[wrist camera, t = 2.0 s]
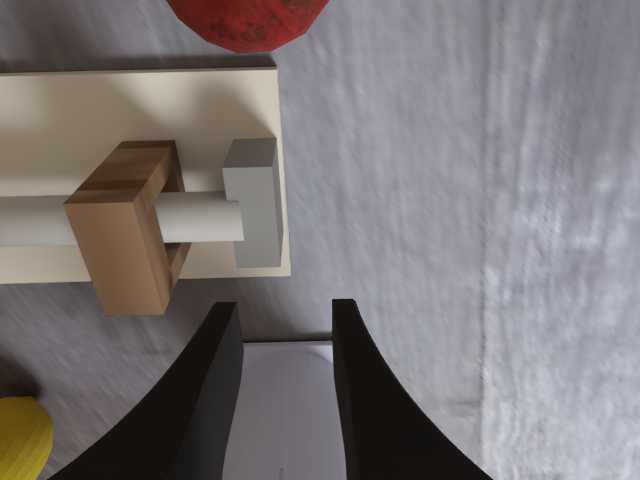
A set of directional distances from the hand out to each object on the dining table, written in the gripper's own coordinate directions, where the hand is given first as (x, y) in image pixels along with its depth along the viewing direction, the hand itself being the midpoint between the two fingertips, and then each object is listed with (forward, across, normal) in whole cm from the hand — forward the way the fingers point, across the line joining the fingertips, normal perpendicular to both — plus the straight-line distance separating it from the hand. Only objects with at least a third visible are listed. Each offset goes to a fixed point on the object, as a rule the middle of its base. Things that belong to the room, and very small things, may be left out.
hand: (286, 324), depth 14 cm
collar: (+10, +6, 0) cm, 12 cm away
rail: (+10, +12, 0) cm, 16 cm away
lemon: (+10, +19, +16) cm, 27 cm away
